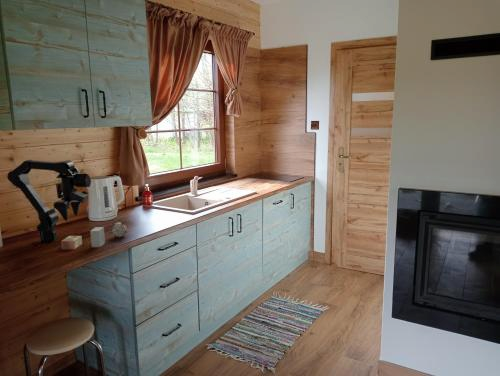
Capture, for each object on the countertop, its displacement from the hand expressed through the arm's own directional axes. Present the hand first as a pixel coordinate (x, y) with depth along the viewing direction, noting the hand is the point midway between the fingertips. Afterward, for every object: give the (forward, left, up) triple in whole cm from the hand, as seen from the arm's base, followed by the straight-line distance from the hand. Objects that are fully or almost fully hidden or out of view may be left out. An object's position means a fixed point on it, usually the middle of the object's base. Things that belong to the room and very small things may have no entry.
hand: (71, 218), depth 202 cm
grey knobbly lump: (+21, +6, -12) cm, 25 cm away
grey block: (+15, -6, -12) cm, 20 cm away
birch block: (+3, -12, -10) cm, 16 cm away
